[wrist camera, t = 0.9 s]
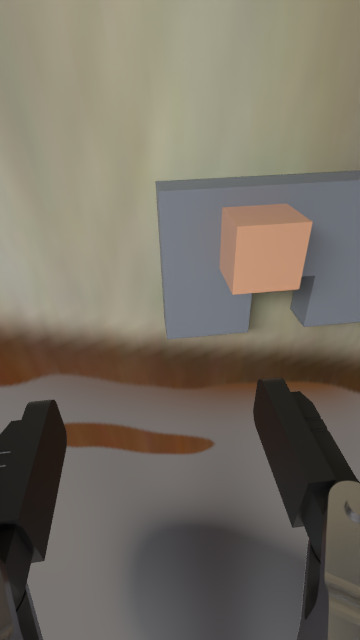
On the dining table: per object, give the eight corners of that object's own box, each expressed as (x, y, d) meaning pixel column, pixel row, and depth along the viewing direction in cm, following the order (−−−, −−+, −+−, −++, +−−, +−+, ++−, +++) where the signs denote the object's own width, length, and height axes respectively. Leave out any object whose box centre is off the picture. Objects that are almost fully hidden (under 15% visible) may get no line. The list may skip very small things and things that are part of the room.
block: (222, 207, 22) (237, 226, 19) (286, 203, 23) (312, 221, 19) (219, 268, 25) (232, 294, 21) (277, 264, 25) (299, 289, 22)
